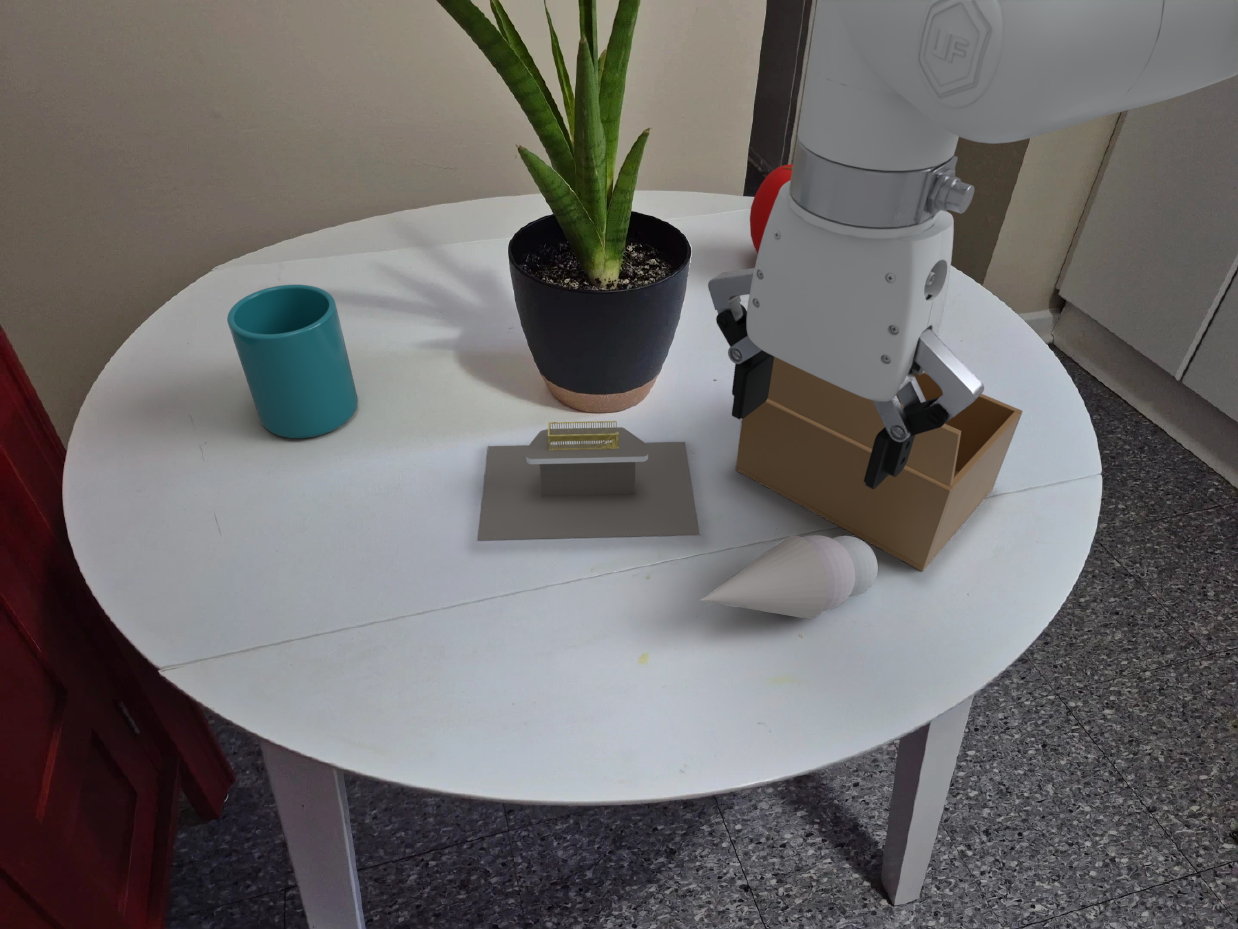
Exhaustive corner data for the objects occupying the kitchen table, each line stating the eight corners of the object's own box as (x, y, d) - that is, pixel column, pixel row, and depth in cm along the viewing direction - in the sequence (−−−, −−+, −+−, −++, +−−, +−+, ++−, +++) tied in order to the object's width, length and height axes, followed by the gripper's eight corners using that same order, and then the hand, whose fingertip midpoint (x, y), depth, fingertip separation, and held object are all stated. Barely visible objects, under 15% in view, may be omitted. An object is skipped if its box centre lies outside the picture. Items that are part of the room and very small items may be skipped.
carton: (992, 489, 75) (1023, 410, 70) (922, 571, 68) (950, 491, 62) (814, 405, 84) (828, 329, 79) (735, 470, 77) (745, 391, 71)
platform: (488, 446, 79) (481, 387, 75) (685, 441, 80) (689, 383, 75) (477, 540, 70) (469, 479, 66) (699, 534, 71) (705, 474, 66)
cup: (371, 366, 89) (349, 266, 81) (350, 440, 80) (323, 335, 72) (281, 369, 88) (251, 268, 81) (249, 443, 79) (213, 338, 72)
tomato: (731, 252, 108) (742, 150, 100) (812, 243, 110) (829, 142, 102) (765, 297, 100) (779, 190, 91) (851, 286, 102) (873, 180, 93)
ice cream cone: (684, 638, 62) (848, 596, 69) (729, 651, 57) (903, 605, 63) (672, 554, 62) (838, 520, 69) (717, 559, 57) (892, 521, 63)
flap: (961, 430, 57) (958, 435, 57) (953, 482, 62) (950, 486, 62) (739, 331, 66) (735, 335, 66) (747, 383, 71) (744, 387, 71)
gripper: (1068, 206, 41) (967, 474, 53) (767, 115, 50) (736, 362, 61) (1002, 262, 37) (908, 540, 48) (685, 152, 46) (668, 410, 57)
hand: (812, 441), depth 55 cm, fingers open, 9 cm apart
